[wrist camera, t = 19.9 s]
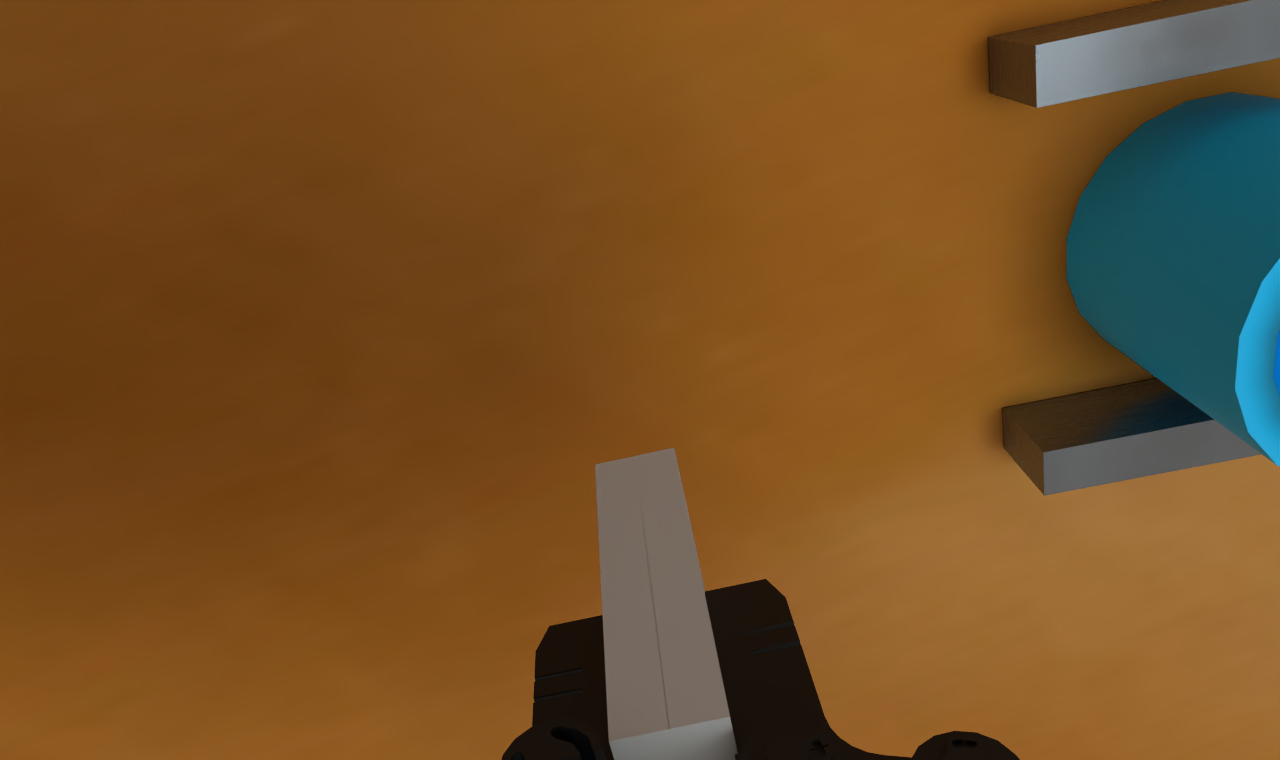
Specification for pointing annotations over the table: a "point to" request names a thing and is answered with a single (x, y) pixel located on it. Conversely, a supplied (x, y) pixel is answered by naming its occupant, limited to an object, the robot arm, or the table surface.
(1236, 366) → the mug
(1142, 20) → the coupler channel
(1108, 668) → the table surface
